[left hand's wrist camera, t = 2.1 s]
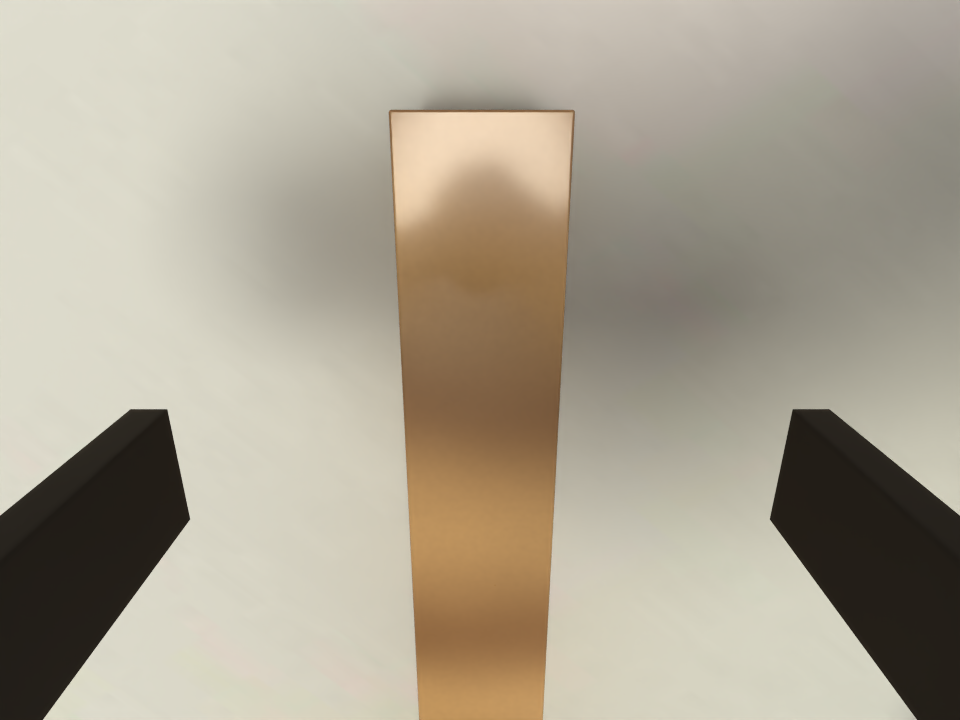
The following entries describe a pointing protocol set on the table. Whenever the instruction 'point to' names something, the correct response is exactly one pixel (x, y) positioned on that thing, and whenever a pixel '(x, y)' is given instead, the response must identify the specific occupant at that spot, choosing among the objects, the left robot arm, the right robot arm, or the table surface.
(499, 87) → the table surface
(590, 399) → the table surface
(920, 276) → the table surface
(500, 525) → the bar
